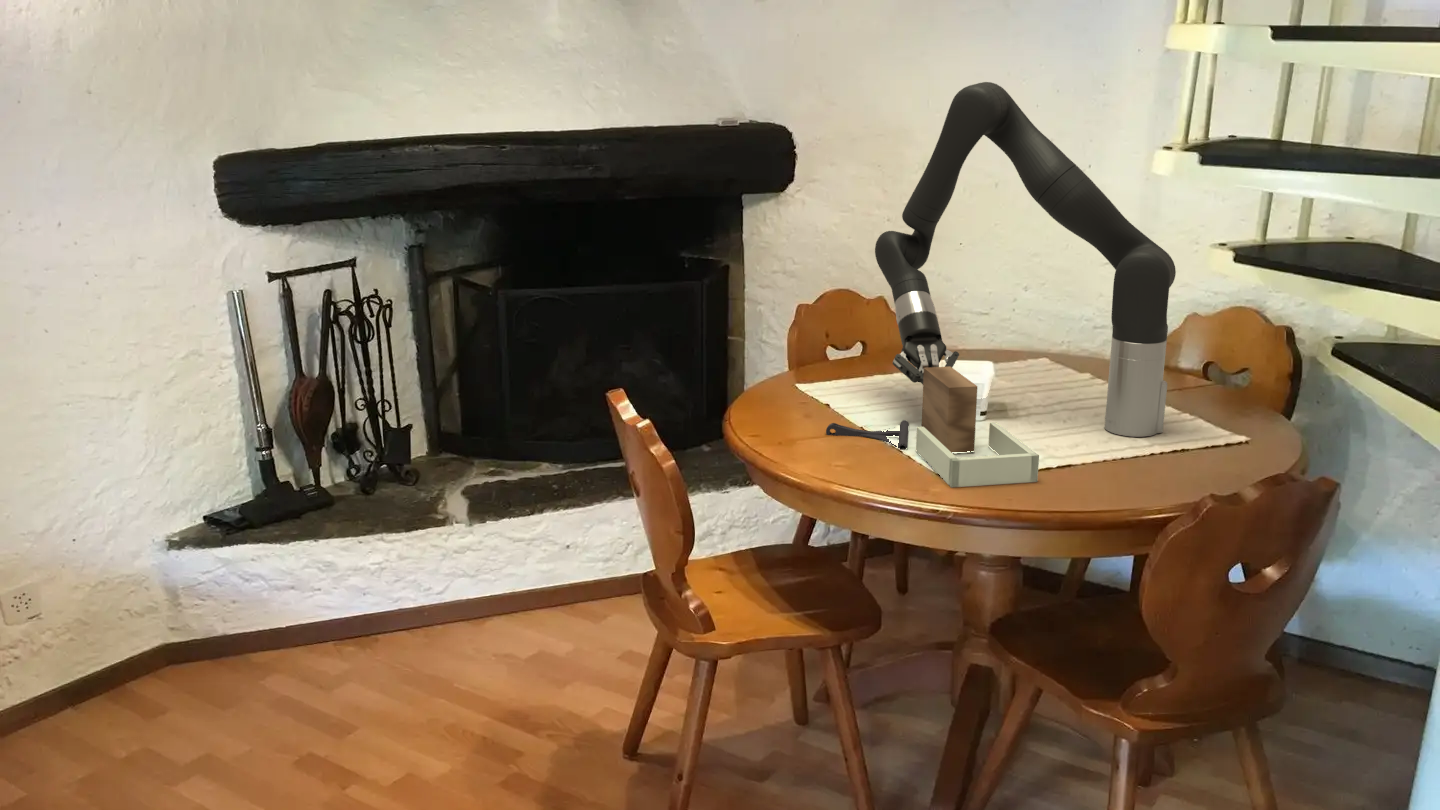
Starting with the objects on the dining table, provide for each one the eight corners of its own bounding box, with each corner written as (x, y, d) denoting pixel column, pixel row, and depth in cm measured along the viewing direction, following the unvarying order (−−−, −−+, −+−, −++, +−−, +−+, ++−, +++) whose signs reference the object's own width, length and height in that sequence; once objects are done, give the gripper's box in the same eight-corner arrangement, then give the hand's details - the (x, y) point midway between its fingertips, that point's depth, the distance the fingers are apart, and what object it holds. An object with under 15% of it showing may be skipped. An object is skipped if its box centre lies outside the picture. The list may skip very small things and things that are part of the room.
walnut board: (947, 429, 206) (950, 366, 203) (974, 453, 193) (977, 386, 189) (921, 430, 205) (923, 367, 202) (946, 454, 192) (949, 387, 189)
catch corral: (994, 446, 196) (996, 422, 195) (1037, 481, 179) (1039, 455, 177) (915, 451, 194) (916, 426, 193) (951, 487, 177) (952, 460, 176)
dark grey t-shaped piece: (829, 426, 212) (829, 412, 211) (908, 428, 209) (909, 414, 208) (822, 450, 198) (822, 435, 197) (907, 453, 195) (907, 438, 195)
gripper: (887, 311, 209) (904, 391, 201) (955, 308, 210) (975, 387, 202) (879, 332, 215) (895, 411, 207) (945, 329, 217) (964, 407, 209)
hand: (935, 399), depth 205 cm, fingers closed
